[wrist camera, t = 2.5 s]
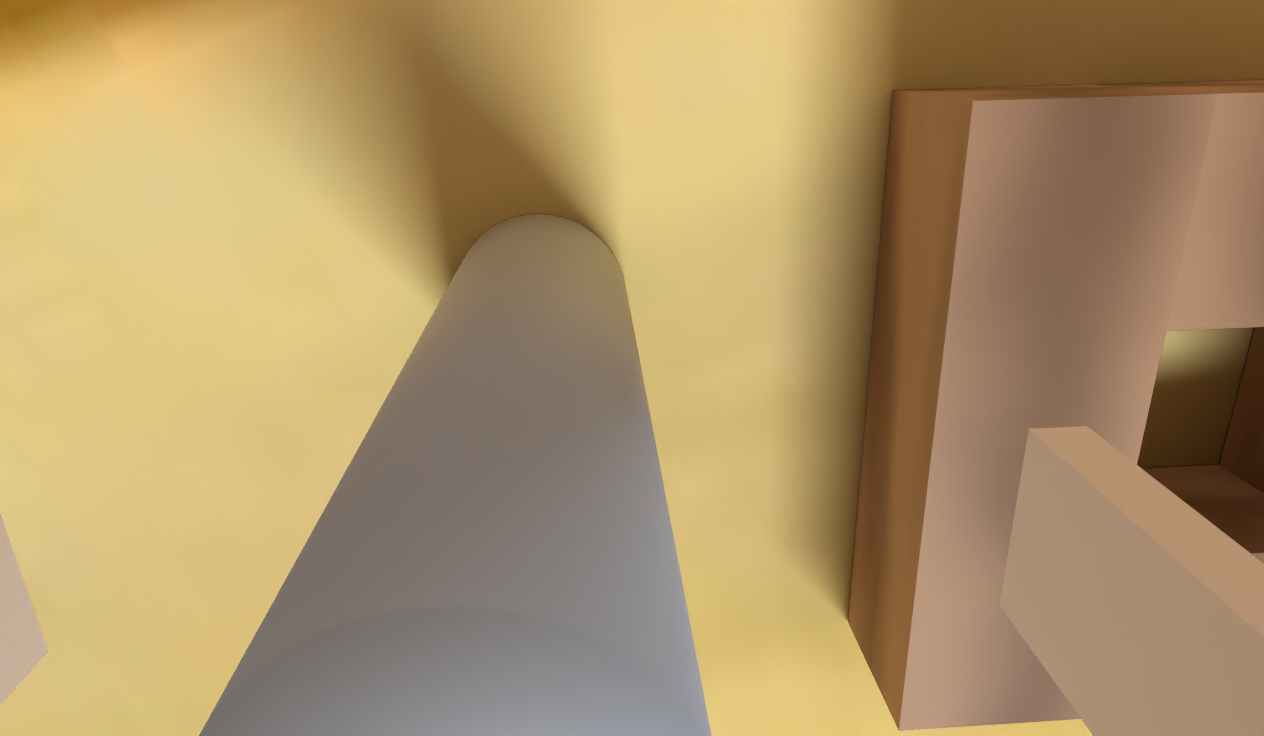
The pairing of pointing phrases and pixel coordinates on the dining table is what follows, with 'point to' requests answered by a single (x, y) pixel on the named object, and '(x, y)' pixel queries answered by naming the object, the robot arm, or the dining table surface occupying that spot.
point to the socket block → (1038, 350)
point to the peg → (492, 530)
